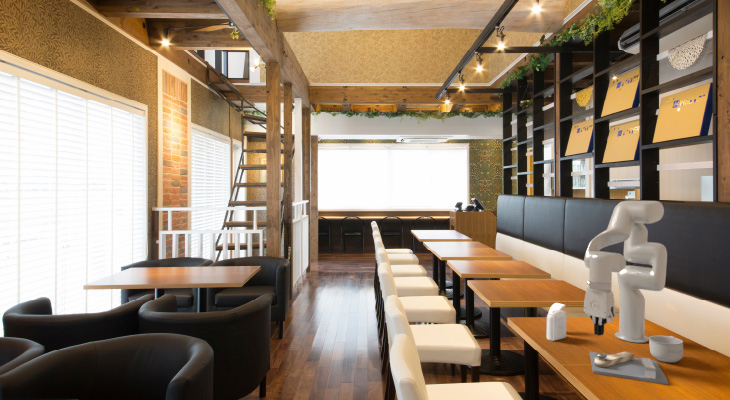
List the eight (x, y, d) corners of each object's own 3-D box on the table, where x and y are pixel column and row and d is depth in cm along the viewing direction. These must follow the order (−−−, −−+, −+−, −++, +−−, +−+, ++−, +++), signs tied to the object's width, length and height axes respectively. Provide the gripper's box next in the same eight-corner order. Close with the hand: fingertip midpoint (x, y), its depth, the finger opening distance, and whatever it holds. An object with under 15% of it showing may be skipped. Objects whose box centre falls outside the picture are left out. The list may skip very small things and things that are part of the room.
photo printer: (558, 335, 195) (559, 307, 194) (567, 337, 191) (568, 309, 191) (544, 339, 189) (545, 310, 189) (553, 342, 185) (554, 313, 185)
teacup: (672, 367, 159) (673, 345, 159) (642, 357, 168) (642, 336, 168) (693, 360, 165) (693, 339, 165) (663, 351, 175) (663, 331, 175)
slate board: (589, 354, 171) (589, 351, 171) (655, 363, 162) (655, 360, 162) (593, 373, 153) (593, 370, 153) (668, 384, 144) (668, 381, 144)
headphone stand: (565, 330, 200) (565, 304, 200) (556, 332, 197) (556, 306, 197) (556, 328, 204) (556, 302, 204) (547, 330, 201) (548, 304, 201)
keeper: (639, 369, 156) (640, 356, 156) (649, 371, 155) (649, 358, 155) (644, 380, 147) (645, 367, 147) (655, 382, 146) (655, 368, 146)
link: (603, 368, 154) (603, 357, 154) (591, 364, 158) (592, 353, 158) (635, 360, 162) (635, 349, 162) (623, 356, 166) (623, 346, 166)
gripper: (576, 283, 171) (575, 330, 171) (612, 290, 158) (611, 341, 158) (589, 282, 175) (587, 328, 175) (625, 289, 161) (624, 339, 161)
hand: (598, 334), depth 166 cm, fingers closed
